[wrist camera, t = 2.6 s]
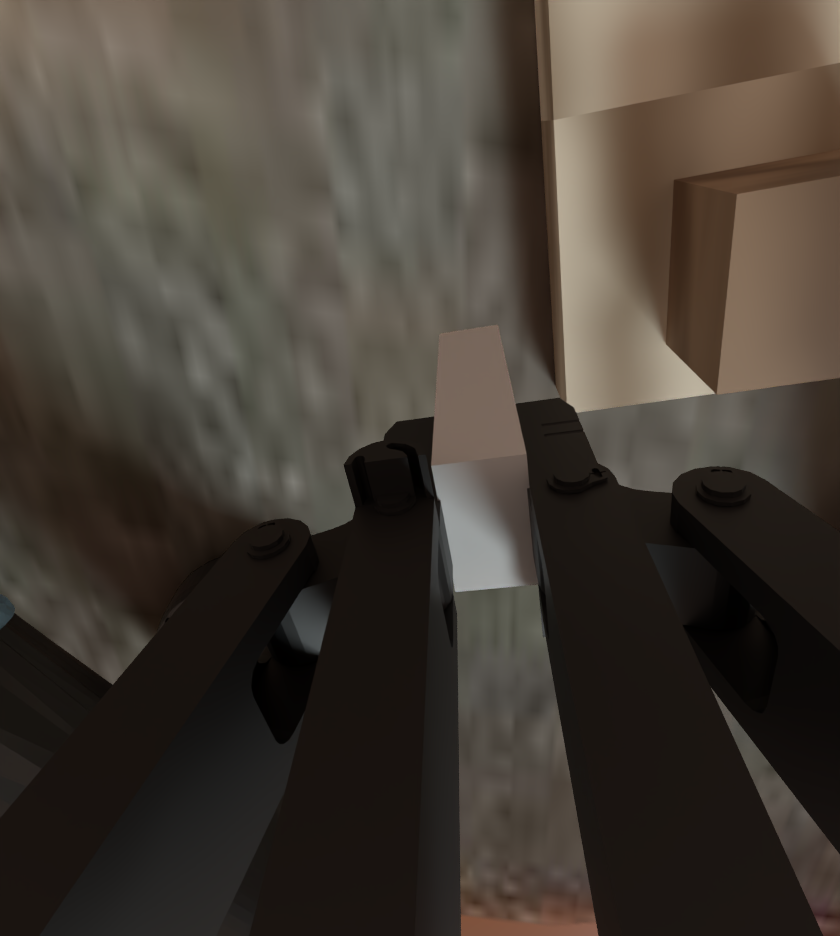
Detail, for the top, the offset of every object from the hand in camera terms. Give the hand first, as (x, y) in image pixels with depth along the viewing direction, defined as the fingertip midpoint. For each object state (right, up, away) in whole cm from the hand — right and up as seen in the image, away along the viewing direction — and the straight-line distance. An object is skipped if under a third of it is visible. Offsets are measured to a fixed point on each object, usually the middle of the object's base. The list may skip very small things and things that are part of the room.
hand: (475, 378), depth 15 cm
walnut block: (+11, +6, +6) cm, 14 cm away
